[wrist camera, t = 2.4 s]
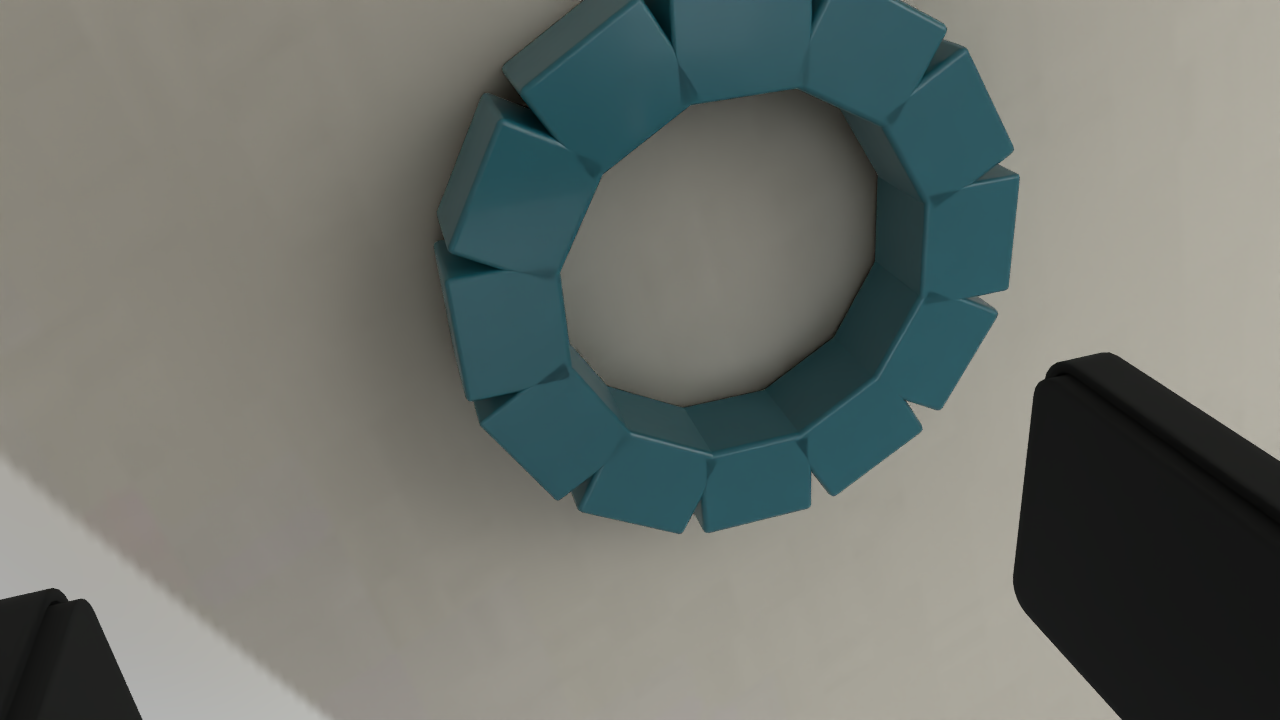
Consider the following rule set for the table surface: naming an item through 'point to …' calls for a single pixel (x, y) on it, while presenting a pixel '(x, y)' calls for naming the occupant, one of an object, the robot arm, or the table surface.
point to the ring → (621, 121)
